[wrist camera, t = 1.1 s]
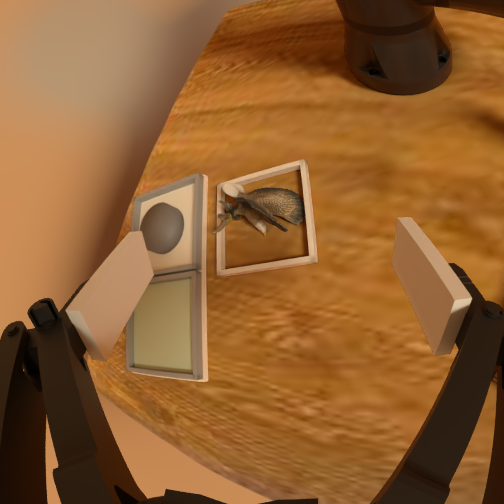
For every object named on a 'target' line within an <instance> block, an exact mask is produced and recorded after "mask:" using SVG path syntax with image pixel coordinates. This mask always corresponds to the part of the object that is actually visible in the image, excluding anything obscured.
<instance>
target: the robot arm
mask: <svg viewBox="0 0 504 504" xmlns="http://www.w3.org/2000/svg"><path fill="white" fill-rule="evenodd" d="M335 1H336V3H337V5H338V7H339V9H340V11H341V14H342V16H343V18H344V21H345V40H344V52H345V57H346V60H347V62H348V65H349V67H350V69H351V71H352V73H353V74H354V76H355V77H356V78H357V79H358V80H359V81H361V82H362V83H363V84H365V85H367V86H368V87H370V88H372V89H375V90H378V91H381V92H384V93H389V94H396V95H412V94H419V93H423V92H427V91H430V90H432V89H434V88H436V87H438V86H439V85H441V84H442V83H443V82H444V81H445V80H446V79H447V78H448V76H449V75H450V72H451V70H452V50H451V46H450V43H449V41H448V39H447V37H446V35H445V33H444V31H443V29H442V27H441V25H440V23H439V21H438V19H437V17H436V15H435V11H434V7H444V8H452V9H459V10H465V11H471V12H477V13H482V14H487V15H492V16H497V17H501V18H504V0H335ZM392 267H393V268H394V270H395V272H396V274H397V276H398V278H399V280H400V282H401V284H402V286H403V288H404V290H405V292H406V294H407V296H408V299H409V301H410V303H411V305H412V307H413V309H414V311H415V313H416V316H417V318H418V320H419V322H420V324H421V327H422V329H423V331H424V333H425V336H426V338H427V340H428V343H429V345H430V347H431V350H432V352H433V355H434V356H439V355H445V354H450V353H451V351H452V349H453V346H454V344H455V343H456V345H457V347H458V349H459V351H458V353H457V355H456V357H455V359H454V361H453V363H452V366H451V368H450V371H449V374H448V376H447V378H446V380H445V382H444V385H443V387H442V389H441V391H440V393H439V395H438V397H437V399H436V401H435V403H434V405H433V407H432V409H431V411H430V413H429V414H428V416H427V418H426V420H425V422H424V424H423V425H422V427H421V429H420V431H419V432H418V434H417V436H416V438H415V439H414V441H413V443H412V444H411V446H410V447H409V449H408V451H407V452H406V454H405V455H404V457H403V459H402V460H401V462H400V463H399V465H398V466H397V468H396V469H395V471H394V472H393V474H392V475H391V476H390V478H389V479H388V481H387V482H386V484H385V485H384V486H383V488H382V489H381V490H380V492H379V493H378V494H377V496H376V497H375V498H374V499H373V500H372V502H371V503H370V504H444V503H445V501H446V499H447V497H448V495H449V492H450V488H449V484H450V482H451V479H452V477H453V475H454V474H455V472H456V469H457V467H458V465H459V463H460V461H461V459H462V457H463V455H464V453H465V450H466V448H467V446H468V443H469V441H470V439H471V436H472V434H473V431H474V429H475V426H476V424H477V421H478V419H479V416H480V413H481V410H482V407H483V405H484V402H485V399H486V396H487V392H488V389H489V386H490V383H491V379H492V376H493V372H494V369H495V366H497V401H496V418H495V430H494V440H493V448H492V455H491V462H490V468H489V474H488V479H487V484H486V489H485V494H484V498H483V502H482V504H504V310H503V308H502V307H501V306H499V305H498V304H496V303H494V302H491V301H485V299H484V298H483V296H482V295H481V293H480V292H479V291H478V289H477V288H476V286H475V285H474V284H473V283H472V281H471V280H470V278H468V276H467V274H466V273H465V272H464V270H463V269H462V268H460V267H459V266H457V265H456V264H455V263H447V262H446V260H445V259H444V258H443V256H442V255H441V254H440V253H439V251H438V250H437V249H436V247H435V246H434V245H433V244H432V242H431V241H430V240H429V239H428V237H427V236H426V235H425V234H424V232H423V231H422V230H421V229H420V227H419V226H418V225H417V224H416V223H415V221H414V220H413V219H412V218H411V217H399V218H397V226H396V235H395V243H394V251H393V259H392ZM153 276H154V273H153V269H152V266H151V263H150V259H149V256H148V252H147V249H146V245H145V241H144V238H143V234H142V231H135V232H129V233H128V234H127V235H126V236H125V238H124V239H123V240H122V241H121V242H120V243H119V244H118V246H117V247H116V248H115V249H114V250H113V252H112V253H111V254H110V255H109V256H108V257H107V259H106V260H105V261H104V262H103V263H102V264H101V266H100V267H99V268H98V269H97V271H96V272H95V273H94V274H93V276H92V277H91V278H90V279H88V280H87V281H85V282H84V283H82V284H81V285H80V286H79V288H78V289H77V290H76V291H75V293H74V294H73V295H72V296H71V298H70V299H69V300H68V302H67V303H66V304H65V305H64V307H63V308H62V309H61V311H60V312H58V310H57V308H56V306H55V304H54V302H53V300H52V299H50V298H44V299H41V300H39V301H37V302H35V303H34V304H33V305H32V306H31V307H30V308H29V310H28V316H29V318H30V319H31V321H32V323H33V325H34V326H35V328H34V329H28V330H27V328H26V327H25V325H24V323H23V322H21V321H16V322H13V323H11V324H10V325H8V326H7V327H6V329H5V330H4V331H3V333H2V336H1V339H0V504H48V502H47V489H46V463H45V441H46V440H45V439H46V414H47V419H48V424H49V428H50V433H51V437H52V441H53V445H54V449H55V453H56V457H57V461H58V465H59V466H58V468H56V469H53V477H54V482H55V485H56V488H57V491H58V494H59V498H60V501H61V504H226V503H223V502H220V501H217V500H214V499H211V498H209V497H206V496H203V495H200V494H193V493H186V492H180V491H174V490H168V489H166V491H165V495H164V496H160V497H154V498H149V499H147V498H146V496H145V495H144V494H143V492H142V491H141V490H140V489H139V487H138V486H137V484H136V483H135V481H134V479H133V477H132V475H131V473H130V471H129V469H128V467H127V465H126V463H125V461H124V458H123V456H122V454H121V452H120V450H119V447H118V445H117V443H116V441H115V438H114V436H113V434H112V431H111V429H110V427H109V424H108V422H107V419H106V417H105V414H104V411H103V409H102V406H101V403H100V401H99V398H98V395H97V393H96V389H95V387H94V384H93V381H92V378H91V375H90V371H89V368H88V365H87V362H86V360H85V359H84V357H83V355H84V354H85V352H86V350H87V351H88V353H89V355H90V356H91V358H92V360H99V361H107V359H108V357H109V355H110V353H111V352H112V350H113V348H114V346H115V344H116V342H117V340H118V338H119V336H120V334H121V333H122V331H123V329H124V327H125V325H126V323H127V322H128V320H129V318H130V316H131V314H132V312H133V311H134V309H135V307H136V305H137V303H138V302H139V300H140V298H141V296H142V295H143V293H144V291H145V289H146V288H147V286H148V284H149V282H150V281H151V279H152V277H153ZM23 369H24V371H23ZM260 504H318V498H317V499H295V500H275V501H271V502H265V503H260Z"/></svg>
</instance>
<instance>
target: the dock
mask: <svg viewBox="0 0 504 504" xmlns="http://www.w3.org/2000/svg"><path fill="white" fill-rule="evenodd" d="M207 194H208V177H207V176H206V175H204V174H203V175H201V174H200V173H196V174H194V175H191V176H188V177H186V178H183V179H180V180H178V181H175V182H172V183H170V184H167V185H165V186H162V187H160V188H157V189H155V190H152V191H150V192H147V193H145V194H142V195H140V196H137V197H135V198H134V204H133V213H132V222H131V232H135V231H142V234H143V238H144V241H145V245H146V249H147V252H148V256H149V259H150V263H151V266H152V269H153V273H154V276H153V277H152V279H151V281H150V282H149V284H148V286H147V288H146V289H145V291H144V293H143V295H142V296H141V298H140V300H139V302H138V303H137V305H136V307H135V309H134V311H133V312H132V314H131V316H130V318H129V320H128V322H127V323H126V371H130V372H133V373H136V374H143V375H149V376H156V377H164V378H172V379H180V380H189V381H199V382H206V381H208V358H207V305H206V248H207Z"/></svg>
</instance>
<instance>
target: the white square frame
mask: <svg viewBox="0 0 504 504" xmlns="http://www.w3.org/2000/svg"><path fill="white" fill-rule="evenodd" d="M299 169H301V177H302V185H303V195H304V204H305V214H306V225H307V236H308V247H309V256H306V257H299V258H293V259H287V260H281V261H275V262H269V263H262V264H256V265H250V266H243V267H237V268H231V269H225V227H224V228H223V229H222V230H221V231H220V232H218V233H217V276H220V277H224V276H231V275H238V274H245V273H252V272H259V271H266V270H272V269H279V268H286V267H292V266H299V265H305V264H312V263H318V257H317V246H316V235H315V225H314V216H313V206H312V198H311V189H310V181H309V173H308V165H307V162H306V161H305V159H303V160H299V161H295V162H292V163H288V164H284V165H281V166H277V167H274V168H270V169H267V170H263V171H260V172H256V173H253V174H249V175H246V176H243V177H240V178H236V179H233V180H230V181H227V182H232V183H234V184H238V185H240V186H241V185H244V184H248V183H251V182H255V181H258V180H262V179H265V178H269V177H273V176H276V175H280V174H284V173H288V172H291V171H295V170H299ZM224 183H226V182H223V183H220V184H217V227H218V226H219V225H220V223H221V222H222V220H221V219H219V218H218V214H224V213H225V206H224V205H223V204H221V203H220V202H219V201H220V200H222V201H224V202H225V193H224V191H223V189H222V186H223V184H224Z"/></svg>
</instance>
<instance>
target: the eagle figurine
mask: <svg viewBox="0 0 504 504" xmlns="http://www.w3.org/2000/svg"><path fill="white" fill-rule="evenodd" d="M222 189H223V191H224V193H226V194H227V195H229V196H231V197H234V198H235V199H234V201H237V202H238V205H236V206H235V207H234V208H233V206H232V204H231V203H230V202H229V203H226V202H224V201H222V200H220V201H219V202H220V203H221V204H223V205H224V206H225V208H226V211H227V212H228V213H227V214H226V213H224V214H218V218H219V219H221V220H222V222H221V223H220V225H219V226H218V227H217V228H216V229H214V230H213V231H212V234H215V233H218V232H220V231H221V230H222V229H223V228H224V227H225V225H227V224H228V223H230V222H231V221H233V220H239V219H241V218H242V217H243V215H244V216H245V217H246V218H247V220H248V221H249V222H250V223H251V224H253V225H254V226H255V227H256V228H257V229H258V230H259V231H261V232H262V233H263V236H265V235H266V226H265V224H264V223H263V221H262V220H264V221H266V222H268V223H269V224H272V225H275V226H276V227H278V228H279V229H280V230H282V231H284V232H286V231H288V229H287V228H285V227H284V226H283V225H282V224H280V223H279V222H277V221H276V219H275V217H274V215H277V216H281V217H283V218H285V219H286V220H288V221H290V222H292V223H294V224H296V225H298V224H299V222H302V221H303V220H304V219H303V218H305V217H306V214H305V204H304V202H301V201H302V198H300V197H299V195H298V194H296V193H295V192H293V191H291V190H288V189H282V188H261V189H257V190H255V191H254V192H251V193H249V194H245V192H244V189H243V187H242V186H240V185H238V184H234V183H232V182H226V183H224V184H223V186H222Z"/></svg>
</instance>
